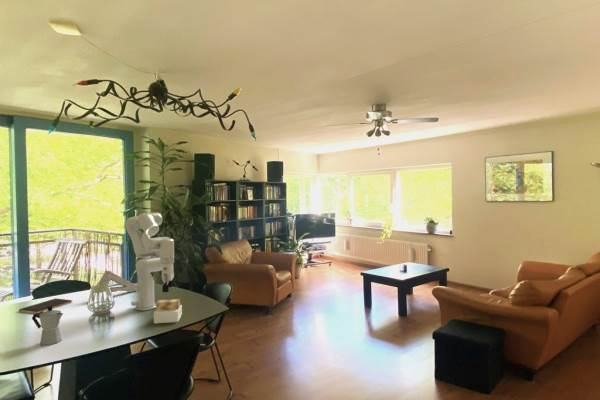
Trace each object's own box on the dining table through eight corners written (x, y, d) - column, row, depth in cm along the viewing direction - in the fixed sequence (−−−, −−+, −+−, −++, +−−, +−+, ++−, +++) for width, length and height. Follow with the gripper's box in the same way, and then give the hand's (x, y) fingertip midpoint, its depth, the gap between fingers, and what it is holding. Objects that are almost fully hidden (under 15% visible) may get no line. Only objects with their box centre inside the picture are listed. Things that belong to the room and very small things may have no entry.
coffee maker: (69, 338, 176) (68, 302, 176) (58, 345, 167) (57, 308, 167) (39, 338, 176) (38, 303, 175) (26, 346, 167) (25, 309, 167)
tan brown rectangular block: (156, 317, 199) (156, 302, 199) (158, 314, 204) (158, 300, 204) (178, 316, 201) (178, 301, 200) (179, 313, 205) (179, 299, 205)
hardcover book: (72, 303, 235) (72, 300, 235) (37, 315, 213) (37, 311, 213) (55, 301, 240) (55, 298, 239) (19, 312, 218) (19, 308, 218)
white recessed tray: (153, 323, 195) (153, 312, 195) (159, 316, 207) (159, 306, 207) (178, 322, 197) (177, 311, 197) (181, 314, 209) (181, 304, 209)
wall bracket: (126, 316, 254) (90, 301, 232) (122, 315, 256) (87, 301, 235) (141, 287, 264) (109, 271, 243) (137, 287, 267) (105, 270, 245)
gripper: (170, 263, 194) (171, 293, 194) (177, 257, 211) (177, 285, 211) (156, 263, 192) (156, 294, 193) (164, 257, 210) (164, 285, 210)
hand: (167, 289), depth 202 cm, fingers open, 9 cm apart
